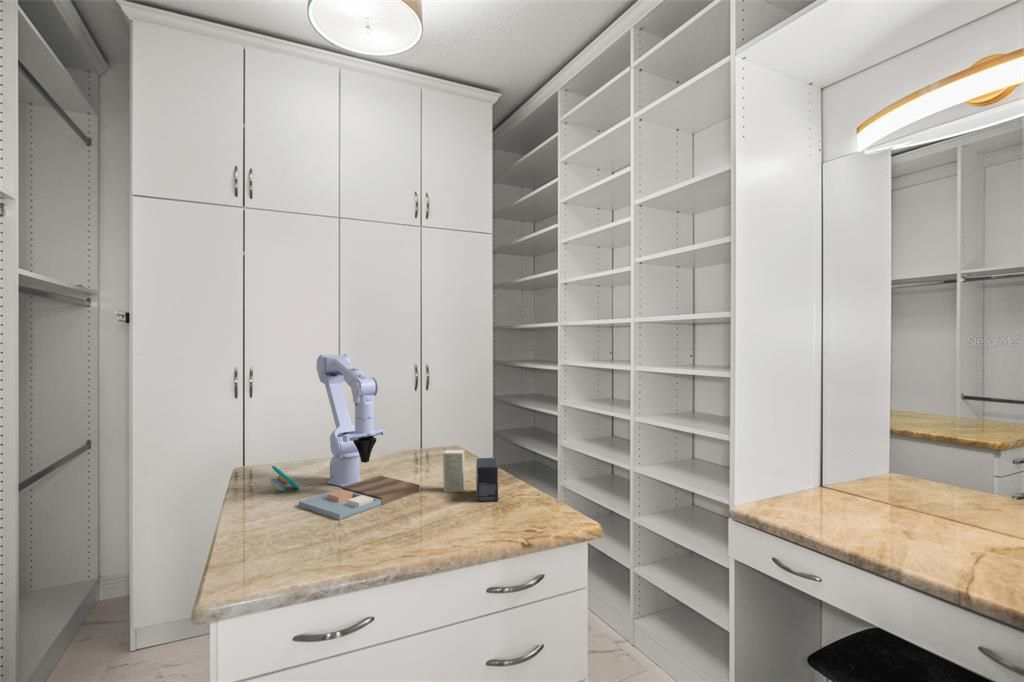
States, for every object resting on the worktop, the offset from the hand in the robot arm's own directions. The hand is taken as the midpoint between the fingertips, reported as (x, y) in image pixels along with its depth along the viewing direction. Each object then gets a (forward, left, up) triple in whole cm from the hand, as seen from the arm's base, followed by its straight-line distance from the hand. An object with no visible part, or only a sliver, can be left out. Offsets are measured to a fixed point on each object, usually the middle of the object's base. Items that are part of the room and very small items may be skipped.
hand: (364, 461), depth 154 cm
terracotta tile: (0, -9, -9) cm, 12 cm away
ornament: (-22, -13, -10) cm, 27 cm away
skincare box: (+21, +17, -10) cm, 29 cm away
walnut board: (+4, +3, -9) cm, 11 cm away
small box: (+33, +18, -10) cm, 39 cm away
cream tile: (+9, -9, -9) cm, 15 cm away
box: (+4, -12, -9) cm, 16 cm away
